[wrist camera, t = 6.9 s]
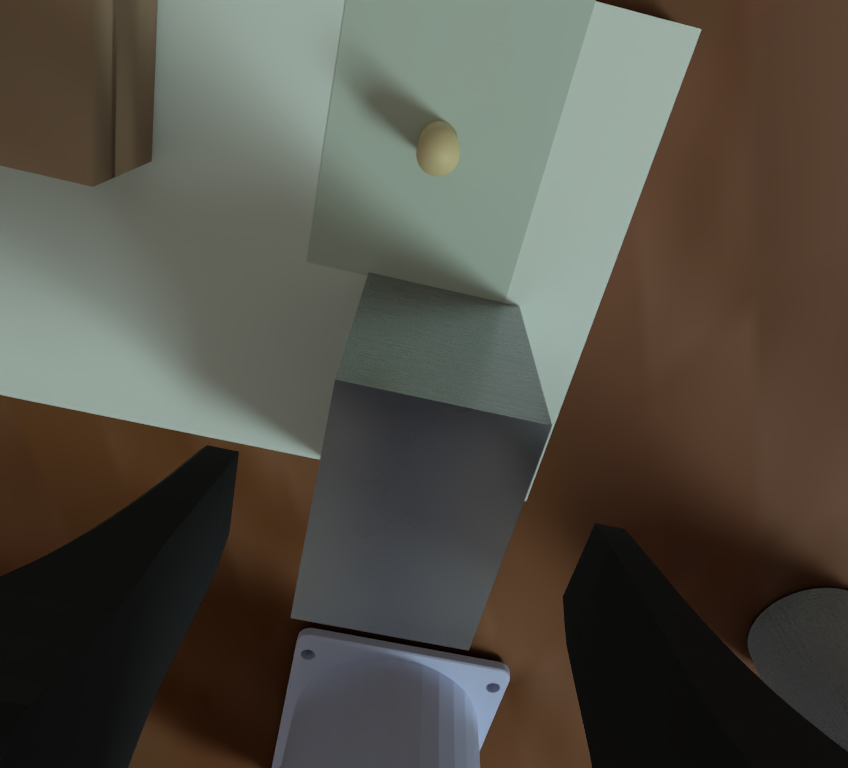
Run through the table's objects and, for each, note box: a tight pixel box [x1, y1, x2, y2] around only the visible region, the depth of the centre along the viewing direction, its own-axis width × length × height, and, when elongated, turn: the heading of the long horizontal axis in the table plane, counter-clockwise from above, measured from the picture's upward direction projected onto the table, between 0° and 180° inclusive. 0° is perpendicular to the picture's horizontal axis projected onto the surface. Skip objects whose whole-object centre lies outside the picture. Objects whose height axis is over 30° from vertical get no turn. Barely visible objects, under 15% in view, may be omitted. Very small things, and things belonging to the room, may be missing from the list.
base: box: [0, 0, 701, 501], centre depth 16 cm, size 13×17×3 cm
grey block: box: [290, 272, 552, 651], centre depth 16 cm, size 6×4×6 cm, turn 167°
